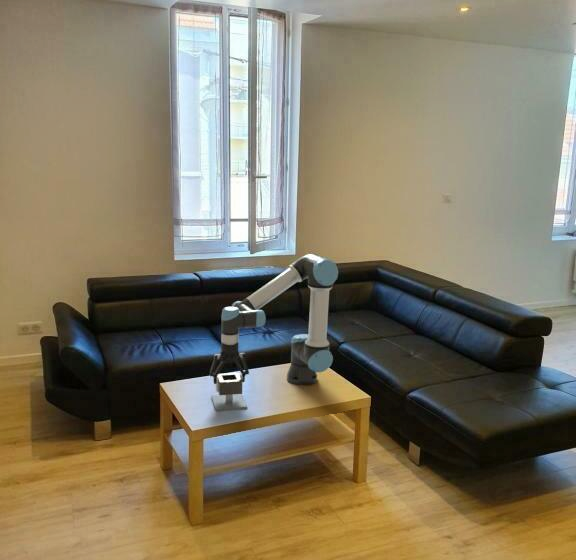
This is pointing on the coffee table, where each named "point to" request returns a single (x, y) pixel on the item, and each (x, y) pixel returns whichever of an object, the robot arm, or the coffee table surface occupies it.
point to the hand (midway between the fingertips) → (229, 389)
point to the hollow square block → (229, 384)
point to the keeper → (229, 402)
